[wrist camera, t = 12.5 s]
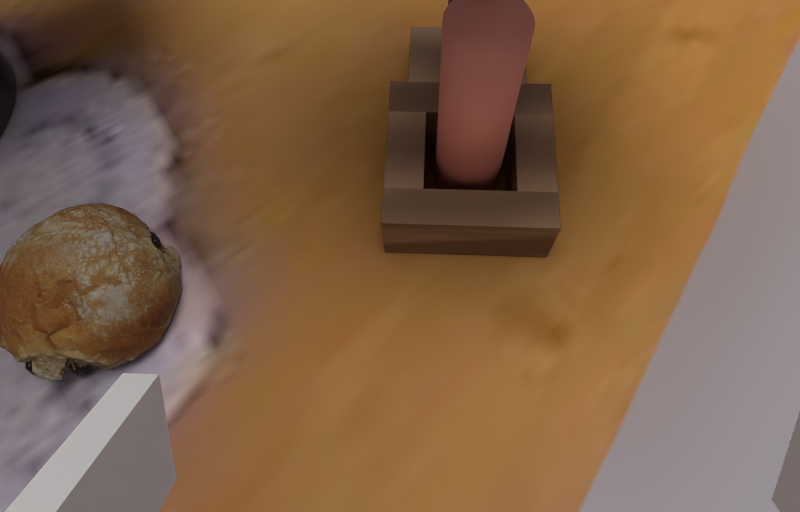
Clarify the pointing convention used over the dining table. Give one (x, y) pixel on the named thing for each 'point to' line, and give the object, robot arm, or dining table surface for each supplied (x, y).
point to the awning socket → (466, 209)
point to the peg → (479, 88)
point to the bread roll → (86, 291)
